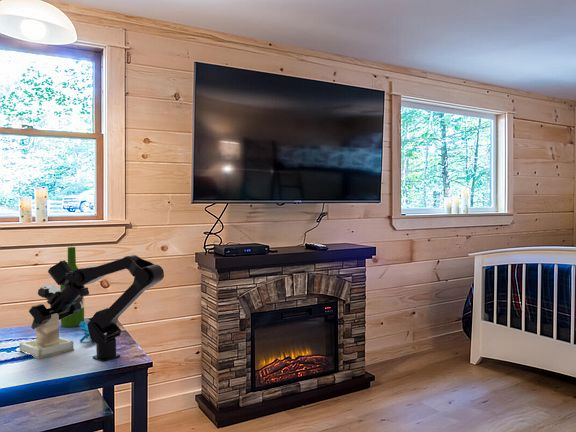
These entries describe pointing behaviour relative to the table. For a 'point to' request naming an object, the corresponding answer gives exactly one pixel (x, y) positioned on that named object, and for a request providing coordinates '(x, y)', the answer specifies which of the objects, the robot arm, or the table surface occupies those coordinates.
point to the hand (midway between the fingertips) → (43, 324)
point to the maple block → (48, 333)
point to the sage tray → (48, 351)
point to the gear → (84, 328)
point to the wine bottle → (78, 316)
